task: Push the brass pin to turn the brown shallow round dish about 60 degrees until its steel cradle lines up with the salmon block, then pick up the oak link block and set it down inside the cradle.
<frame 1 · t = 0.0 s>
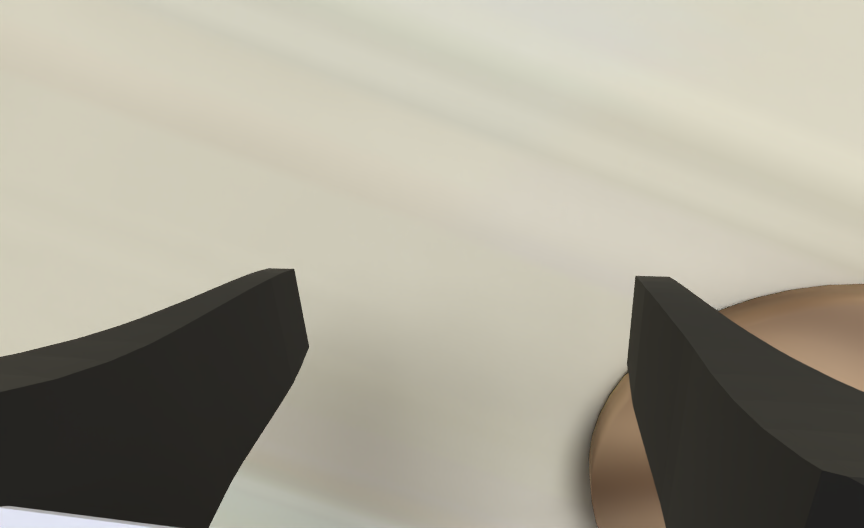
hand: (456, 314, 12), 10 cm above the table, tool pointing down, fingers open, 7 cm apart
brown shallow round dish: (838, 524, 21), point 3 cm above the table, hinge at 0.0°
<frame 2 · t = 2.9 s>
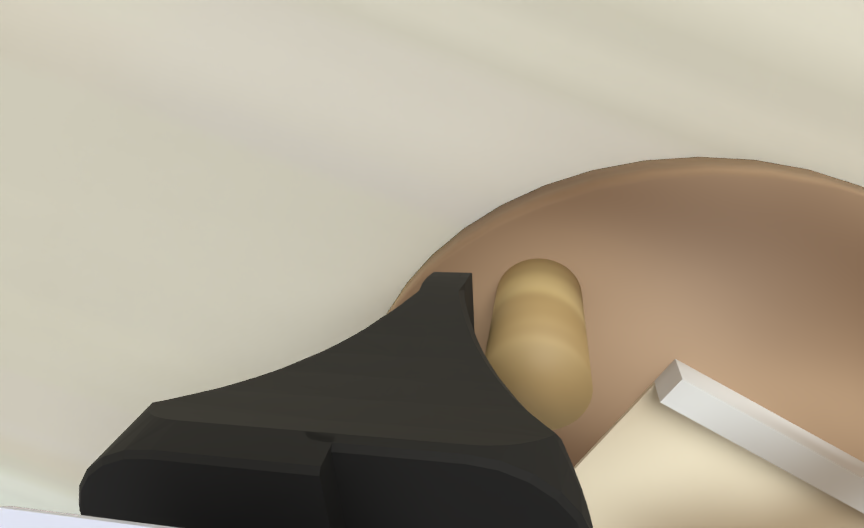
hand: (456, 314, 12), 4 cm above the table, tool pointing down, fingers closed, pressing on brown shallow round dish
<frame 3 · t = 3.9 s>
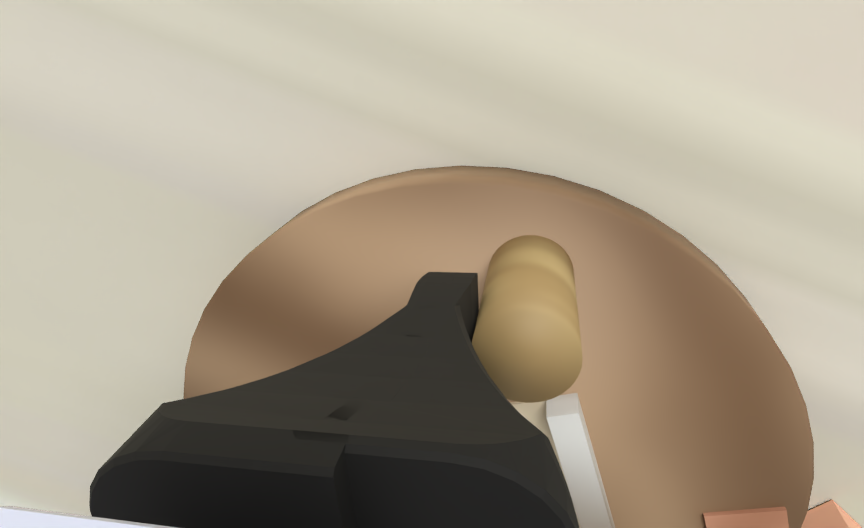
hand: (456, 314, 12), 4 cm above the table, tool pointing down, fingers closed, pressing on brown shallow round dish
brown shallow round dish: (461, 506, 15), point 3 cm above the table, hinge at -44.8°, touching gripper
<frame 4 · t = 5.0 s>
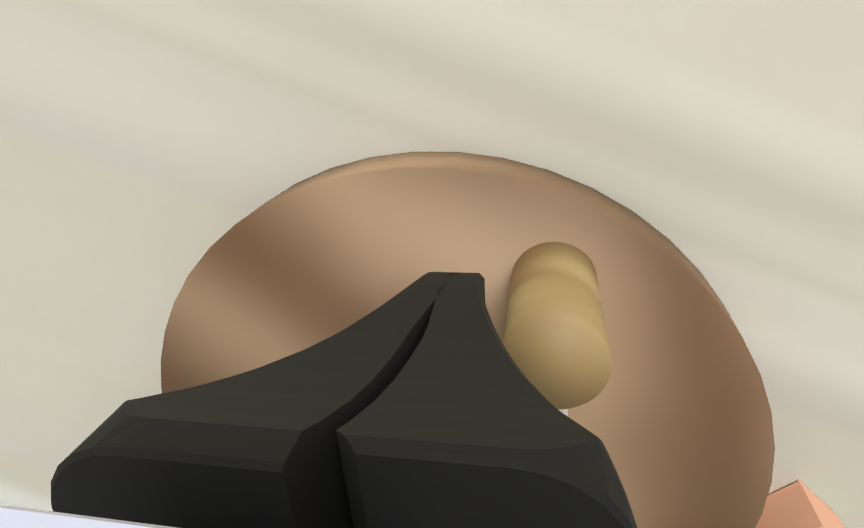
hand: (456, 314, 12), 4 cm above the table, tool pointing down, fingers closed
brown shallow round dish: (431, 486, 16), point 3 cm above the table, hinge at -57.7°, touching gripper
salmon block: (790, 511, 17), on the table
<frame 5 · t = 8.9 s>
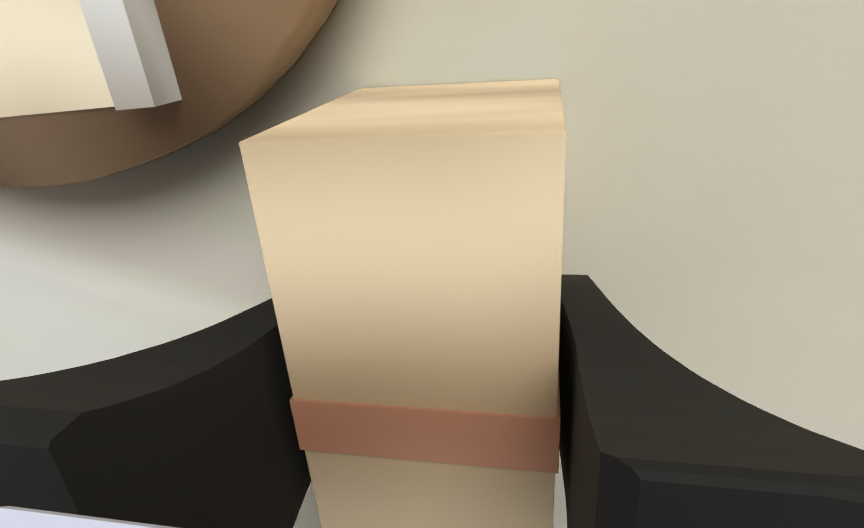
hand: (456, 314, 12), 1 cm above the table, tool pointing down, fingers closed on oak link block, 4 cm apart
oak link block: (465, 284, 13), on the table, touching gripper
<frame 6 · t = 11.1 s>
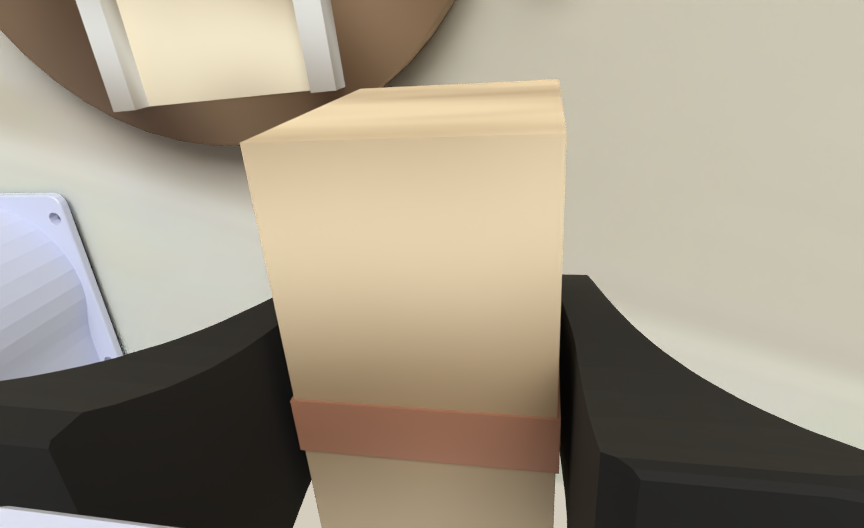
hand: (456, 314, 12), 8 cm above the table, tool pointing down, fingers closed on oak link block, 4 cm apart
oak link block: (465, 285, 13), point 7 cm above the table, touching gripper
when the fingers open (4 cm above the table, at t = 13.2 s): oak link block stays where it is, resting on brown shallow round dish.
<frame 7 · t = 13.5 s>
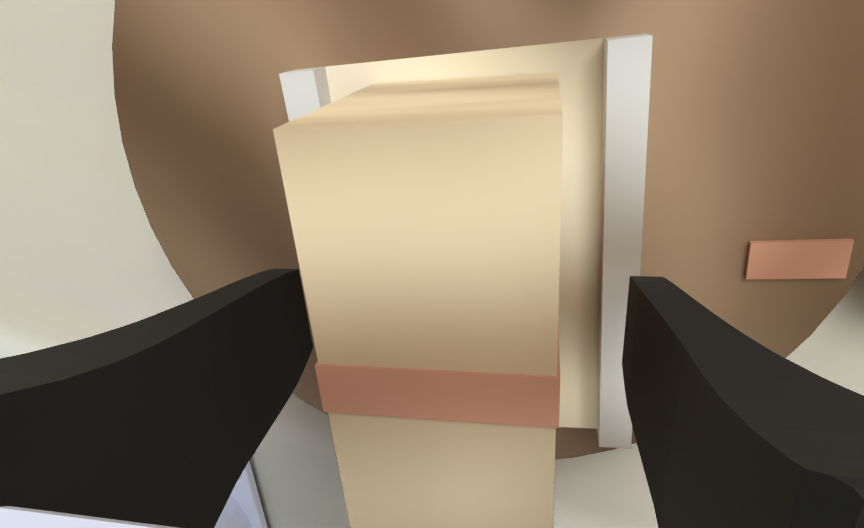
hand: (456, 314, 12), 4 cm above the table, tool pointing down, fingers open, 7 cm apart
oak link block: (471, 267, 14), point 2 cm above the table, touching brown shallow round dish
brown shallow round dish: (461, 178, 12), point 3 cm above the table, hinge at -57.7°, touching oak link block
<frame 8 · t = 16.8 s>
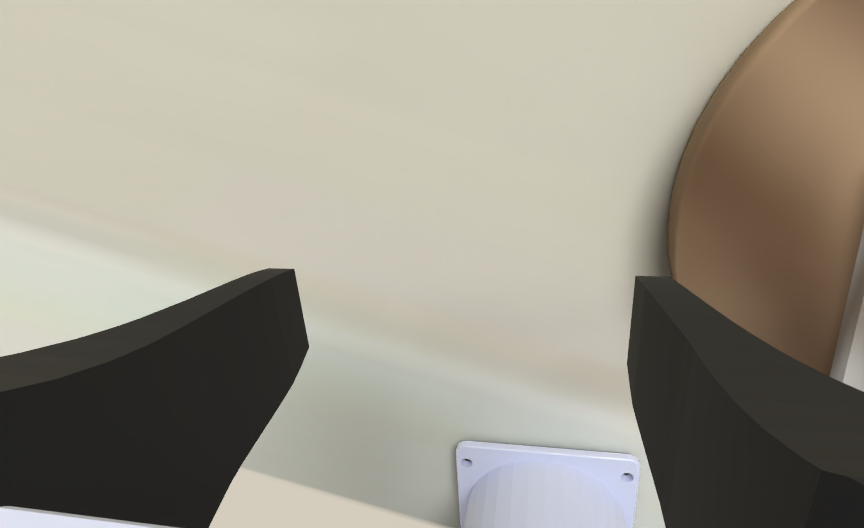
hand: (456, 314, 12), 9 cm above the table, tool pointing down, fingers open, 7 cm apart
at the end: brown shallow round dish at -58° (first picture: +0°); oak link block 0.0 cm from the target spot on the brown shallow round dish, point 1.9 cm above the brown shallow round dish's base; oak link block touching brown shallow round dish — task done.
